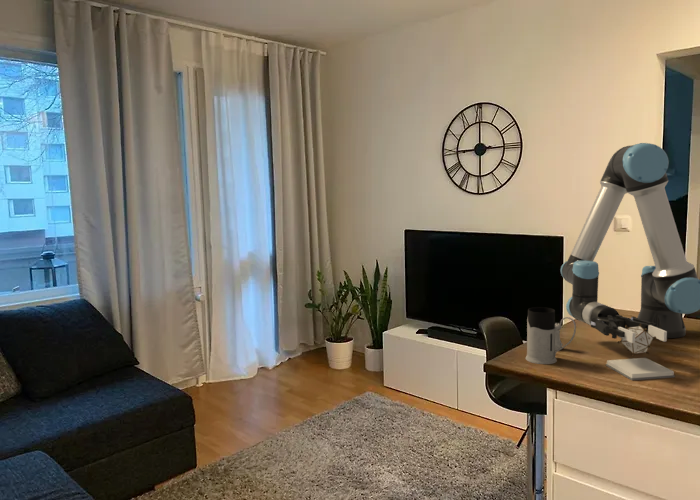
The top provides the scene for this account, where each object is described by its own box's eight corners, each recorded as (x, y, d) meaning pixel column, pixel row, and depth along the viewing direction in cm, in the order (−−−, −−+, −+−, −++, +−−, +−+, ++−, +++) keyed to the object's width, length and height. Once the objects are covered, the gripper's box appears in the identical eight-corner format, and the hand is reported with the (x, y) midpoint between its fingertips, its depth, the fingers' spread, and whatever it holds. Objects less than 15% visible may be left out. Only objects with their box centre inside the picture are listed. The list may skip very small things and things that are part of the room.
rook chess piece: (545, 347, 173) (545, 322, 172) (559, 346, 174) (559, 321, 173) (551, 351, 169) (551, 326, 168) (565, 350, 169) (565, 325, 168)
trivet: (645, 362, 155) (645, 357, 155) (674, 377, 143) (674, 371, 143) (605, 365, 154) (605, 360, 154) (631, 380, 142) (631, 374, 142)
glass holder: (532, 353, 167) (532, 305, 166) (580, 361, 159) (580, 310, 157) (520, 360, 161) (521, 311, 159) (570, 369, 152) (571, 317, 150)
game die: (643, 369, 147) (663, 346, 140) (611, 356, 149) (630, 333, 142) (642, 345, 154) (662, 322, 147) (612, 333, 155) (630, 310, 148)
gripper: (633, 327, 167) (686, 349, 144) (568, 330, 165) (611, 353, 142) (634, 303, 166) (687, 321, 143) (568, 306, 164) (612, 325, 141)
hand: (649, 337), depth 143 cm, fingers closed on game die, 8 cm apart
